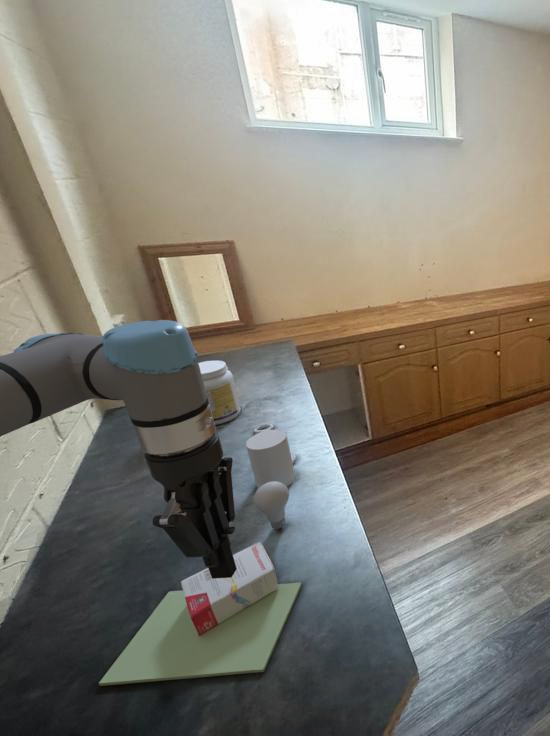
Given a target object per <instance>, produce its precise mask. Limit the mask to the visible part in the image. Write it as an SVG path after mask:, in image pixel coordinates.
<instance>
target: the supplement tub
mask: <svg viewBox="0 0 550 736" xmlns="http://www.w3.org/2000/svg"><path fill="white" fill-rule="evenodd" d="M198 364H199V367H200V371H201V375H202V379H203V382H204V386H205V390H206V394H207V398H208V401H209V406H210V409H211V413H212V416H213V419H214V423H215V426H218V425H221V424H225V423H228V422H230V421H232V420H234V419H235V418H237V417H238V416H239V415H240V414H241V412H242V406H241V402H240V398H239V395H238V391H237V386H236V383H235V378H234V375H233V373H232V372H231V371H230V370H229V368H228V366H227V363H226V362H225V361H223V360H205V361H200V362H198Z"/></svg>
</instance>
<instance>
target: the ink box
mask: <svg viewBox="0 0 550 736" xmlns="http://www.w3.org/2000/svg"><path fill="white" fill-rule="evenodd" d="M233 558H234V561H235V564H236V567H237V570H236V571H235V573H234V574H233V576H232V577H231V578H215V579H212V577H211V574H210V571H209V568H208V567H206V568H205V569H203V570H201V571H198V572H196V573H194V574H192V575H190V576H188V577H187V578H185V579H183V580H180V584H181V588H182V591H183V592H184V596H185V600H186V603H187V607H188V611H189V615H190V618H191V621H192V623H193V626H194V628H195V631H196V633H197V634H198V636H200V635H202V634H203V633H205V632H207V631H208V630H210V629H211V628H213V627H215V626H217V625H218V624H220V623H221V622H223V621H225V620H226V619H228V618H230V617H231V616H233V615H235V614H236V613H238V612H240V611H241V610H243V609H245V608H246V607H248V606H250V605H251V604H253V603H255V602H256V601H258V600H260V599H261V598H263V597H265V596H266V595H268V594H270V593H271V592H273V591H275V590H276V589H278V588H279V586H278V584H279V582H278V578H277V574H276V569H275V566H274V564H273V562H272V560H271V559H270V557H269V555H268V552H267V551H266V549H265V547H264V545H263V543H262V542H260V541H257V542H255V543H254V544H251V545H250V546H248V547H246V548H244V549H242V550H240V551H238V552H235V553H234V554H233Z"/></svg>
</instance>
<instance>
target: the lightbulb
mask: <svg viewBox="0 0 550 736" xmlns="http://www.w3.org/2000/svg"><path fill="white" fill-rule="evenodd" d="M289 498H290V491H289V488H288V487H286V486H285V485H284V484H283V483H281V482H277V481H272V482H268V483H265V484H264V485H262V486H261V487H260V488H259V489H257V490H256V491H255V493H254V496H253V505H254V507H255V508H256V510H258V511H259V512H260V513H261V514H264V515H265V517H266V519H267V521H268V522H269V524H270V526H271V528H272V529H274V530H279V529H281V528H283V527H284V526H285V524H286V518H285V517H286V505H287V503H288V501H289Z"/></svg>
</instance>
